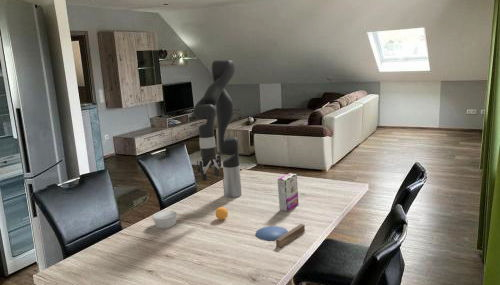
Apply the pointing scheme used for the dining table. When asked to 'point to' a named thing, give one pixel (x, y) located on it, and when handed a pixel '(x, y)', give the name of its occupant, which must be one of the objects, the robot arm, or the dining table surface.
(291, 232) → the wooden stick
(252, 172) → the dining table surface
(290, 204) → the candy bar box
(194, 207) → the dining table surface
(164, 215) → the ramekin
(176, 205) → the dining table surface
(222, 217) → the ball
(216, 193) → the dining table surface
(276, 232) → the blue disc
